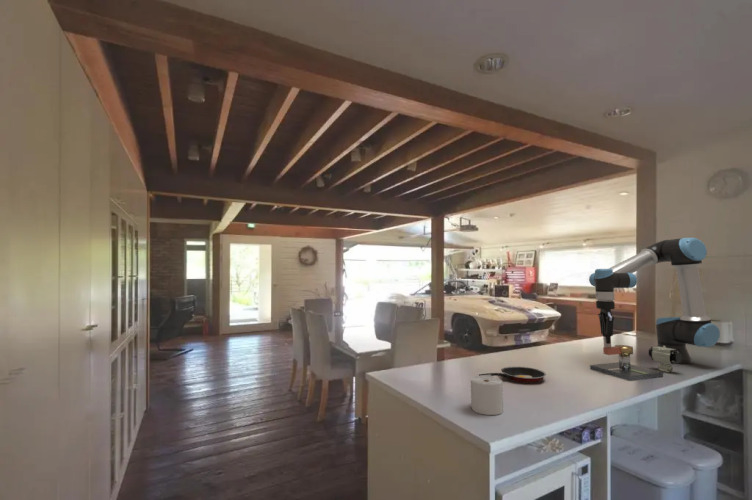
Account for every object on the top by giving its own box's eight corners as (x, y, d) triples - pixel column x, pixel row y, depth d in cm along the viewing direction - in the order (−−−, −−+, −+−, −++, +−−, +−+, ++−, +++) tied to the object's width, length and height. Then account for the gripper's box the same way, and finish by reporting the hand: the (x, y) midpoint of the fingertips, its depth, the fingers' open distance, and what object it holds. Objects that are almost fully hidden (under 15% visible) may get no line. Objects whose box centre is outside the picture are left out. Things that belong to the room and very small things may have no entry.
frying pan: (556, 383, 152) (556, 374, 152) (492, 390, 143) (492, 380, 143) (526, 371, 170) (526, 363, 170) (467, 377, 161) (467, 369, 161)
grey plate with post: (621, 365, 178) (620, 347, 179) (663, 376, 159) (661, 356, 160) (590, 369, 172) (589, 350, 173) (629, 380, 153) (628, 359, 154)
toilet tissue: (478, 416, 116) (477, 385, 117) (465, 403, 128) (464, 375, 129) (509, 414, 117) (508, 384, 118) (493, 401, 129) (492, 374, 130)
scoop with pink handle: (622, 350, 171) (622, 344, 171) (636, 353, 164) (636, 347, 164) (599, 352, 167) (599, 346, 167) (613, 356, 160) (612, 349, 160)
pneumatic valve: (655, 367, 174) (653, 343, 175) (683, 374, 163) (681, 347, 164) (648, 369, 172) (646, 344, 173) (675, 375, 161) (673, 348, 162)
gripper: (591, 299, 177) (594, 347, 176) (601, 301, 165) (603, 352, 163) (608, 299, 175) (611, 347, 174) (619, 301, 163) (622, 353, 161)
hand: (607, 350), depth 168 cm, fingers closed
